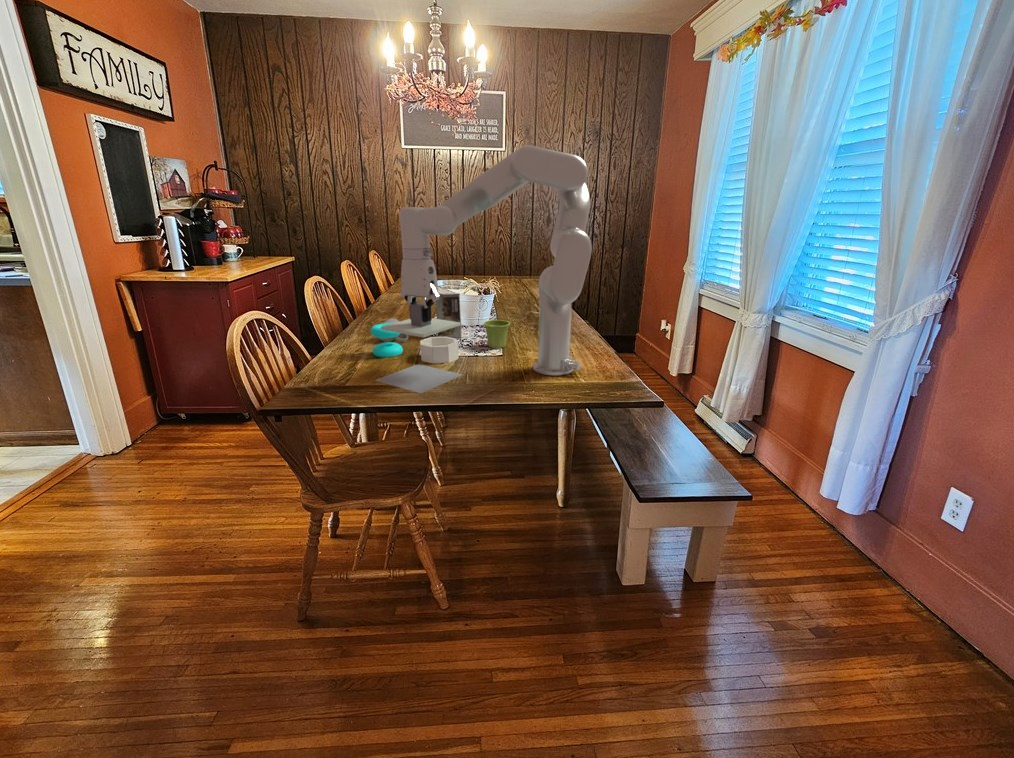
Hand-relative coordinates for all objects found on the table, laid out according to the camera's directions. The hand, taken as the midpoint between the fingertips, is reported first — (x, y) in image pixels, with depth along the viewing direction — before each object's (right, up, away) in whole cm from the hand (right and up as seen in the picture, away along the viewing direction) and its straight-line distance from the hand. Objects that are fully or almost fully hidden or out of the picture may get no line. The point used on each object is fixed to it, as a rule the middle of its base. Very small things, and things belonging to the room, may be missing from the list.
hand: (421, 319), depth 138 cm
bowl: (+2, -11, +21) cm, 23 cm away
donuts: (-16, -9, +25) cm, 31 cm away
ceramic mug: (-18, -3, +42) cm, 46 cm away
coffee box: (+2, -1, +48) cm, 48 cm away
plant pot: (+21, -6, +35) cm, 41 cm away
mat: (-1, -17, +2) cm, 17 cm away
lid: (0, -2, +1) cm, 2 cm away
